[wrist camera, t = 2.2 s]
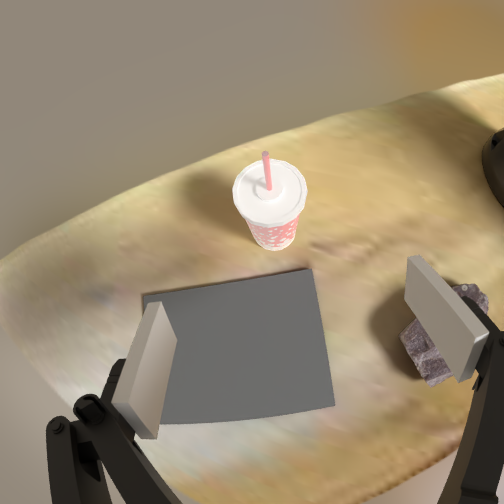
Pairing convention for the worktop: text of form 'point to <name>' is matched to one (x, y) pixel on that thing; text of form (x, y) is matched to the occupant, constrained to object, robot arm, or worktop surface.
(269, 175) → the beverage cup
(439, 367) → the rock
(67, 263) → the worktop surface
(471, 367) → the robot arm
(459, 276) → the worktop surface
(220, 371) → the stop mat
